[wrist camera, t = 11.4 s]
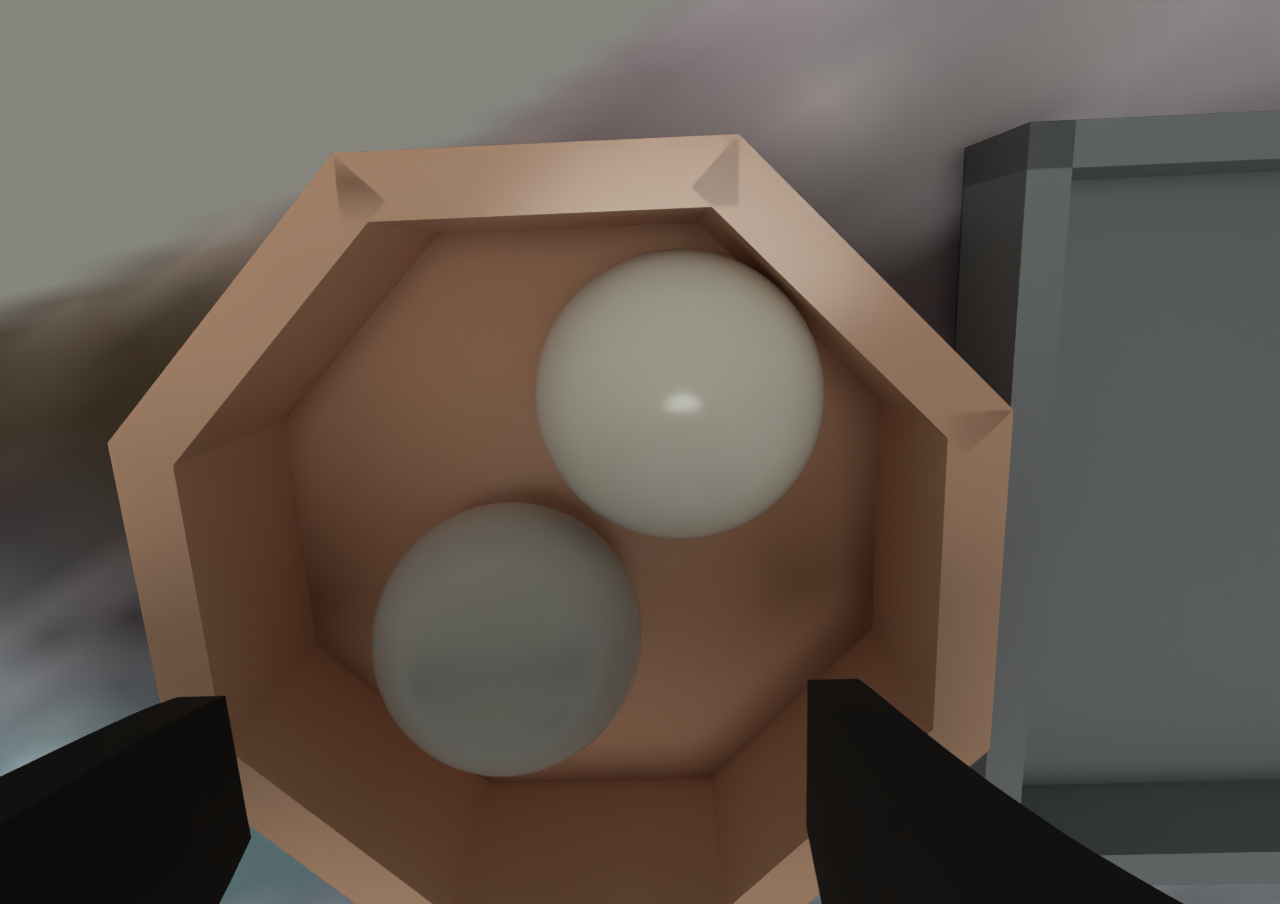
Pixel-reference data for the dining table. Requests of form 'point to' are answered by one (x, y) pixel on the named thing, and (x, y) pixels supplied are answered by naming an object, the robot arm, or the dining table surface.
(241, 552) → the bowl
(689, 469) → the cream pebble
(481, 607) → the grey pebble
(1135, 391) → the parts tray
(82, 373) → the dining table surface
